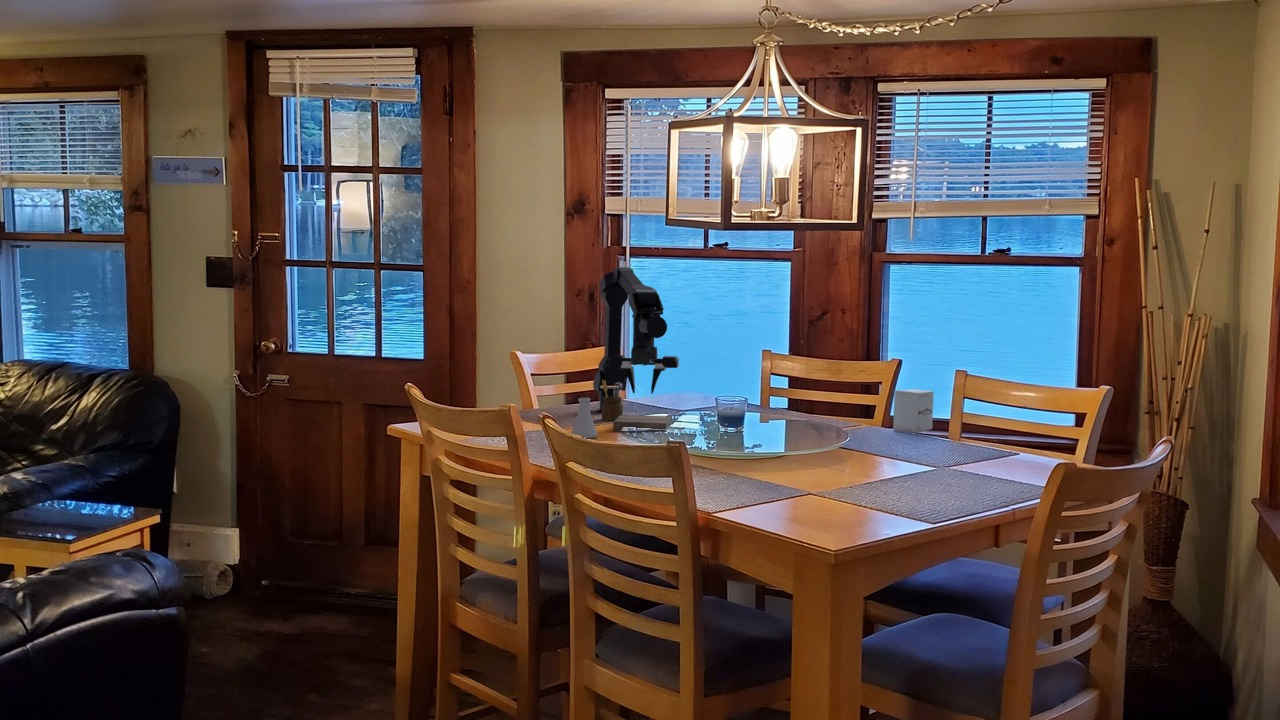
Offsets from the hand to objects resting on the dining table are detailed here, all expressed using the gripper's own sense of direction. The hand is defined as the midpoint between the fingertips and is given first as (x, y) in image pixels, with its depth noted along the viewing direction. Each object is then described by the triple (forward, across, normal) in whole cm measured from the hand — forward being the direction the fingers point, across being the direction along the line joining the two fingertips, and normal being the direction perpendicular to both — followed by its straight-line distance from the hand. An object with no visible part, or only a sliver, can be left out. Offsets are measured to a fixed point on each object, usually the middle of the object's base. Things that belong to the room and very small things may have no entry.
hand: (643, 393), depth 309 cm
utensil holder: (+10, -10, +11) cm, 18 cm away
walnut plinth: (+10, 0, 0) cm, 10 cm away
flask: (+10, -13, -18) cm, 24 cm away
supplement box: (+10, +71, -5) cm, 72 cm away
